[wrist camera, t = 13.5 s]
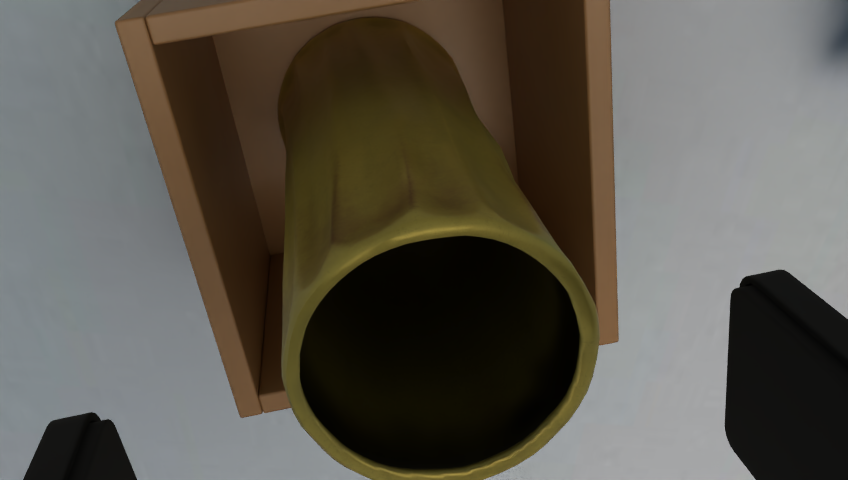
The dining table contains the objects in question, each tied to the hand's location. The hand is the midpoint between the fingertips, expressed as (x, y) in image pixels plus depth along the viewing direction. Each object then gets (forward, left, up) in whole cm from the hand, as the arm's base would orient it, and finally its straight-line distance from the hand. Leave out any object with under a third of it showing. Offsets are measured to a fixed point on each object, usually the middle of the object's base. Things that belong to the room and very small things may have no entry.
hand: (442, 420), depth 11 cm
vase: (0, 0, -16) cm, 16 cm away
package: (0, 0, -16) cm, 16 cm away
